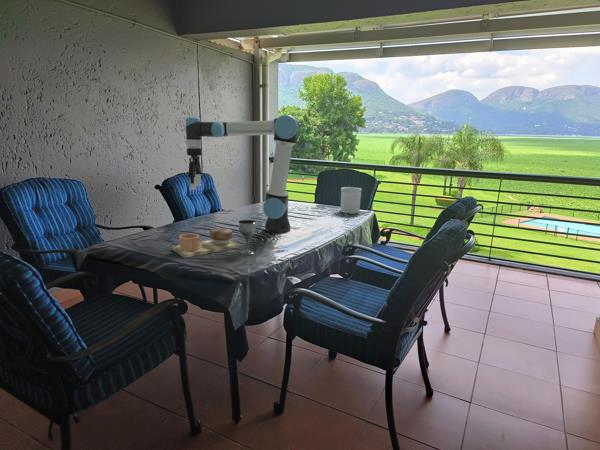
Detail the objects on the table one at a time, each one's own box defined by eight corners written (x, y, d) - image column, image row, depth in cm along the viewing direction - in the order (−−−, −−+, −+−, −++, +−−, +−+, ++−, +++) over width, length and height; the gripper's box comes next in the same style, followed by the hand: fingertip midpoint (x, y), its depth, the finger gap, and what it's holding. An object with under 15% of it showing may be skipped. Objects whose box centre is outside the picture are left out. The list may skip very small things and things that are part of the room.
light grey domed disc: (231, 241, 192) (231, 235, 191) (225, 245, 184) (225, 239, 183) (217, 239, 193) (216, 234, 193) (210, 244, 186) (209, 238, 185)
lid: (235, 235, 192) (235, 229, 191) (226, 240, 182) (226, 234, 181) (215, 233, 194) (215, 227, 194) (205, 238, 184) (205, 232, 183)
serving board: (224, 240, 198) (224, 237, 198) (239, 247, 187) (239, 244, 187) (171, 249, 181) (171, 246, 180) (184, 257, 170) (184, 254, 169)
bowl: (203, 246, 182) (202, 234, 180) (193, 252, 173) (193, 239, 172) (185, 244, 184) (185, 232, 182) (176, 250, 175) (175, 237, 174)
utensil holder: (340, 209, 287) (341, 186, 282) (359, 210, 285) (361, 187, 280) (339, 213, 272) (340, 189, 268) (360, 214, 270) (361, 190, 266)
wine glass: (239, 249, 184) (239, 219, 180) (256, 249, 184) (256, 219, 181) (238, 255, 176) (238, 223, 172) (255, 255, 177) (255, 223, 173)
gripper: (192, 146, 212) (193, 184, 217) (180, 148, 188) (183, 191, 193) (205, 146, 213) (206, 184, 218) (196, 149, 189) (197, 191, 194)
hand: (195, 187), depth 206 cm, fingers open, 13 cm apart
